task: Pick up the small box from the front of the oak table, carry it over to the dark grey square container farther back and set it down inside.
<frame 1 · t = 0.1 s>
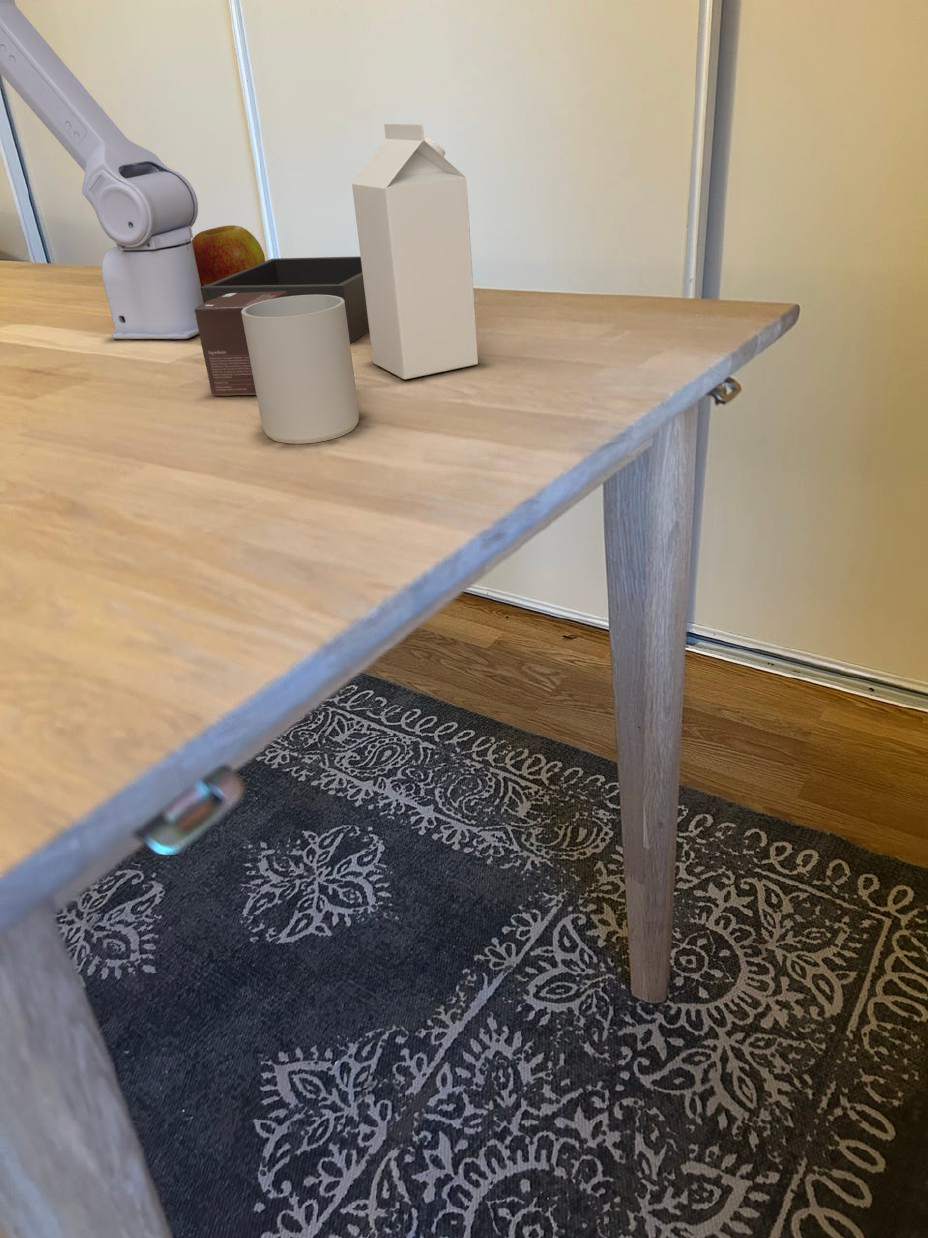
box: (257, 388, 82), on the table
dark grey square container: (312, 324, 101), on the table
cup: (307, 425, 72), on the table
milk carton: (425, 367, 84), on the table
fruit: (232, 297, 119), on the table
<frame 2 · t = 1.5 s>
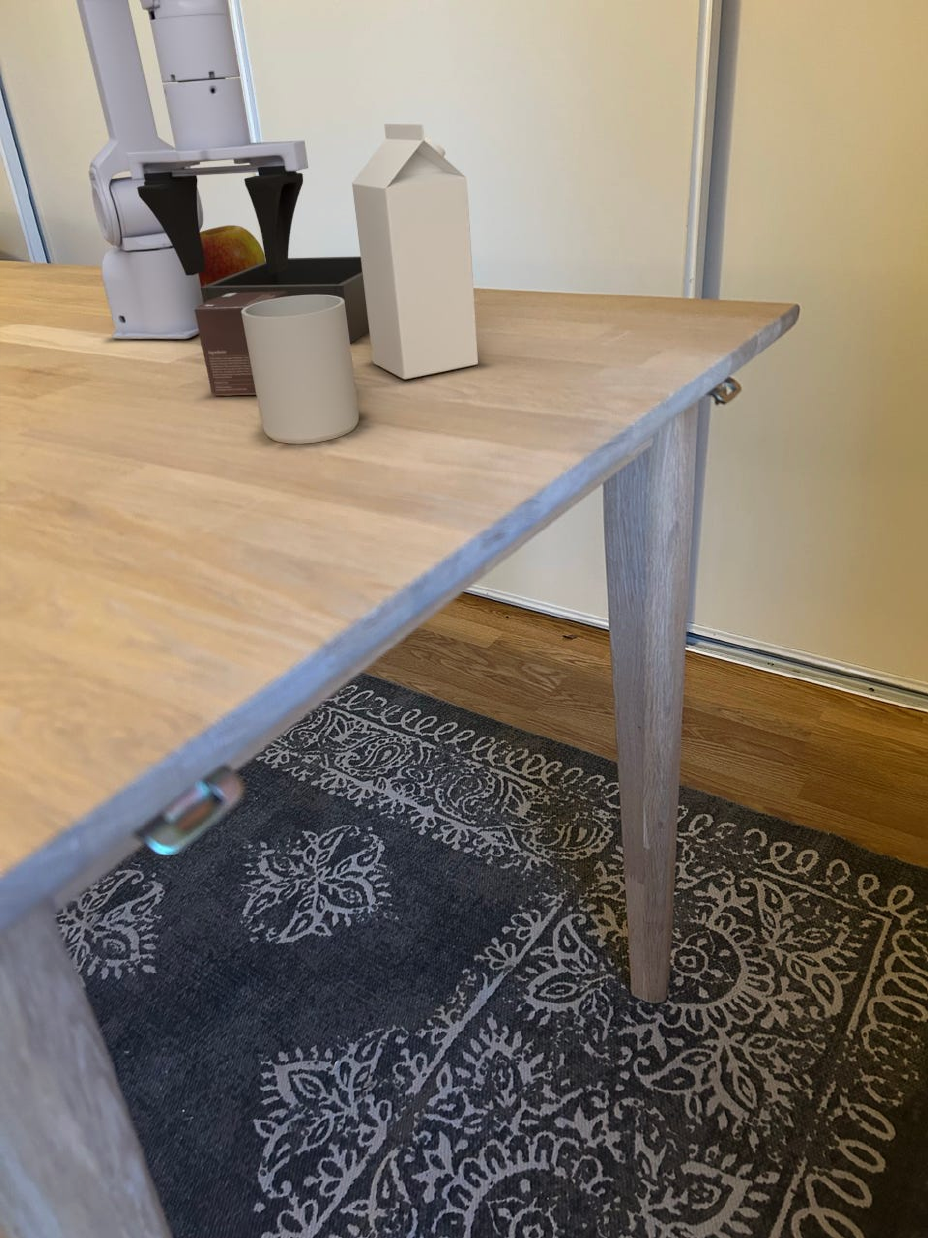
hand: (236, 272, 77), 9 cm above the table, tool pointing down, fingers open, 7 cm apart
nothing on the table moved.
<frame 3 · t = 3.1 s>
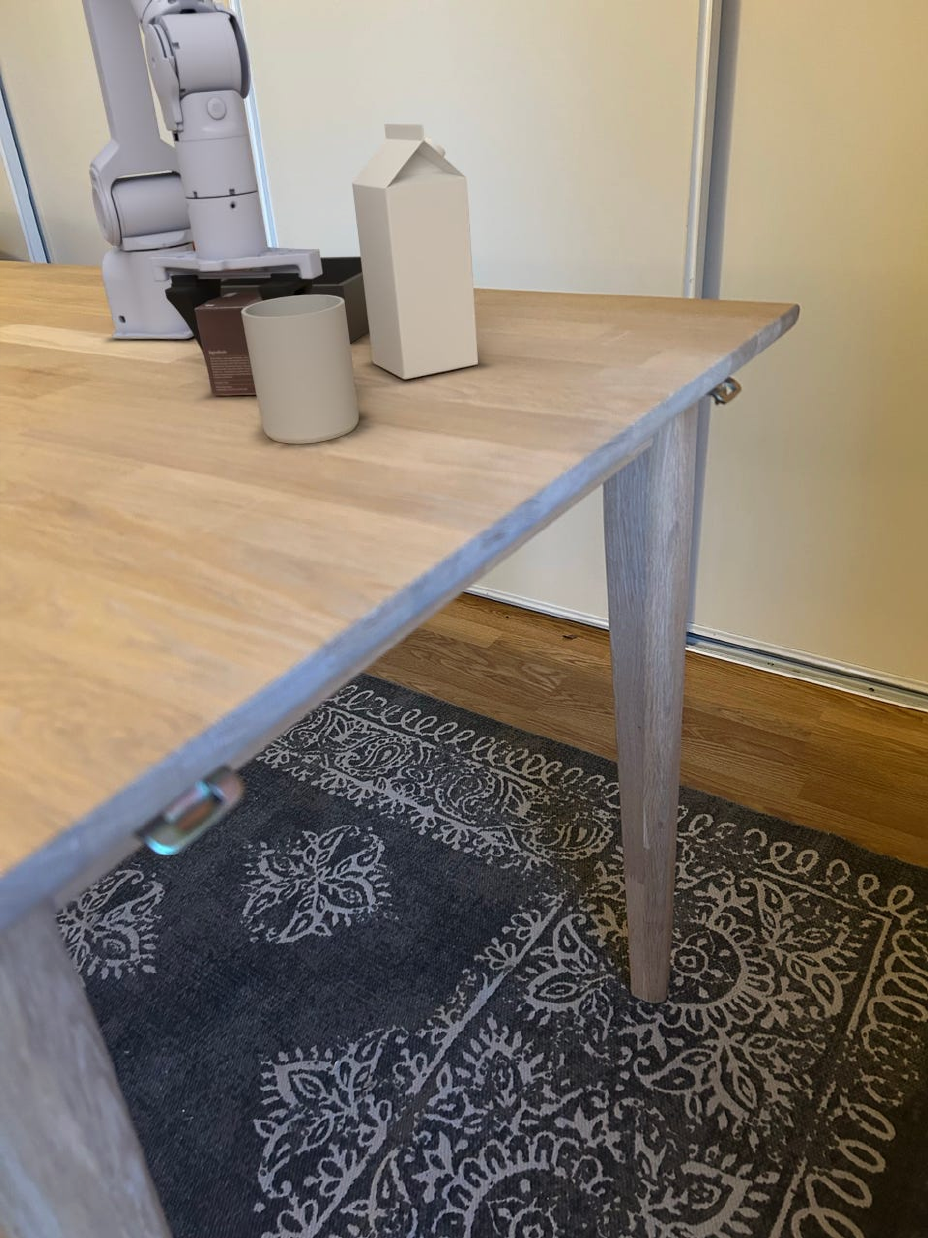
hand: (253, 366, 81), 2 cm above the table, tool pointing down, fingers closed on box, 6 cm apart
box: (257, 388, 82), on the table, touching gripper
everything else where it was.
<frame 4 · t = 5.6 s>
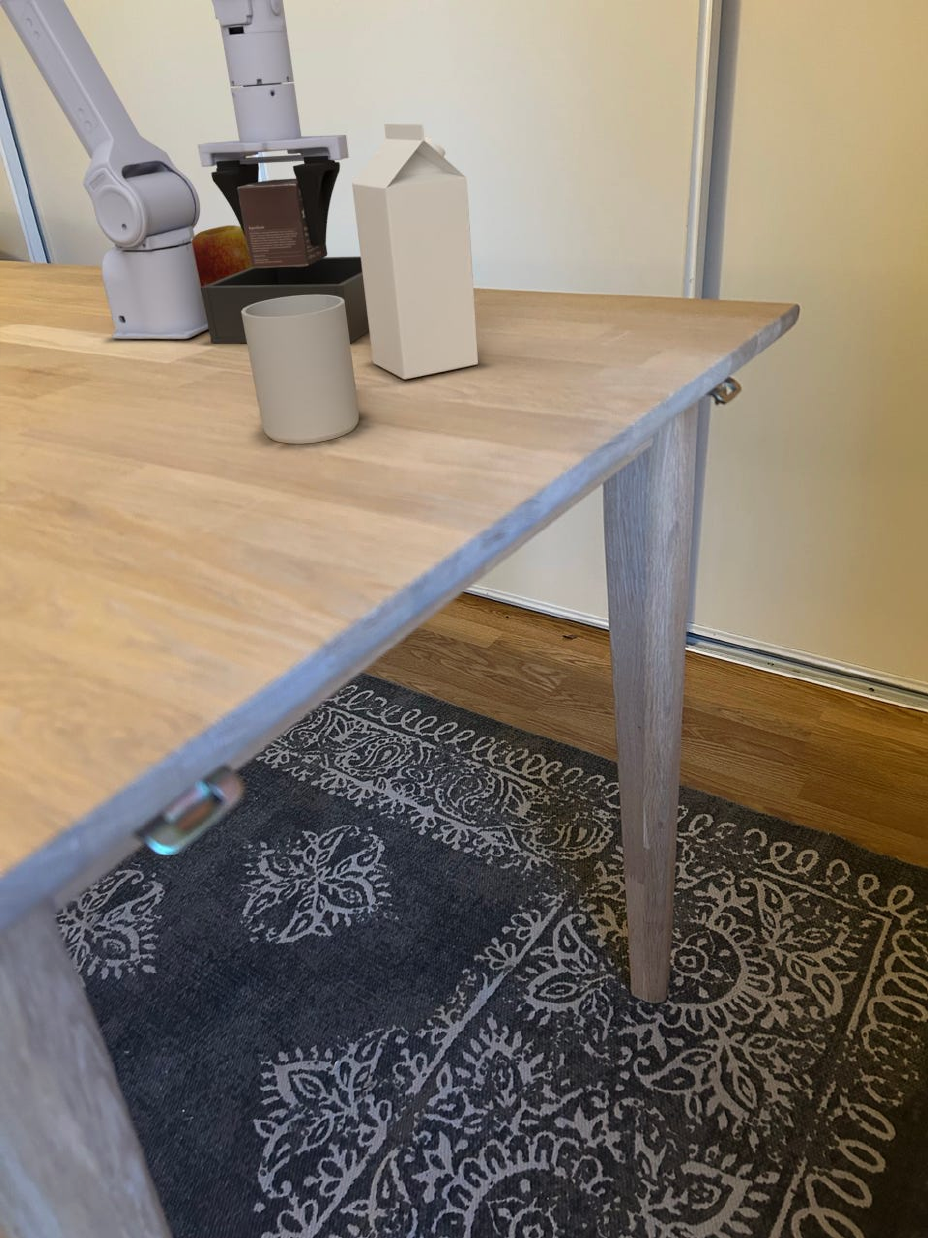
hand: (286, 244, 92), 9 cm above the table, tool pointing down, fingers closed on box, 6 cm apart
box: (290, 264, 93), point 7 cm above the table, touching gripper
everything else where it was.
when the fingers open (2 cm above the table, at t = 8.3 s): box stays where it is, resting on dark grey square container.
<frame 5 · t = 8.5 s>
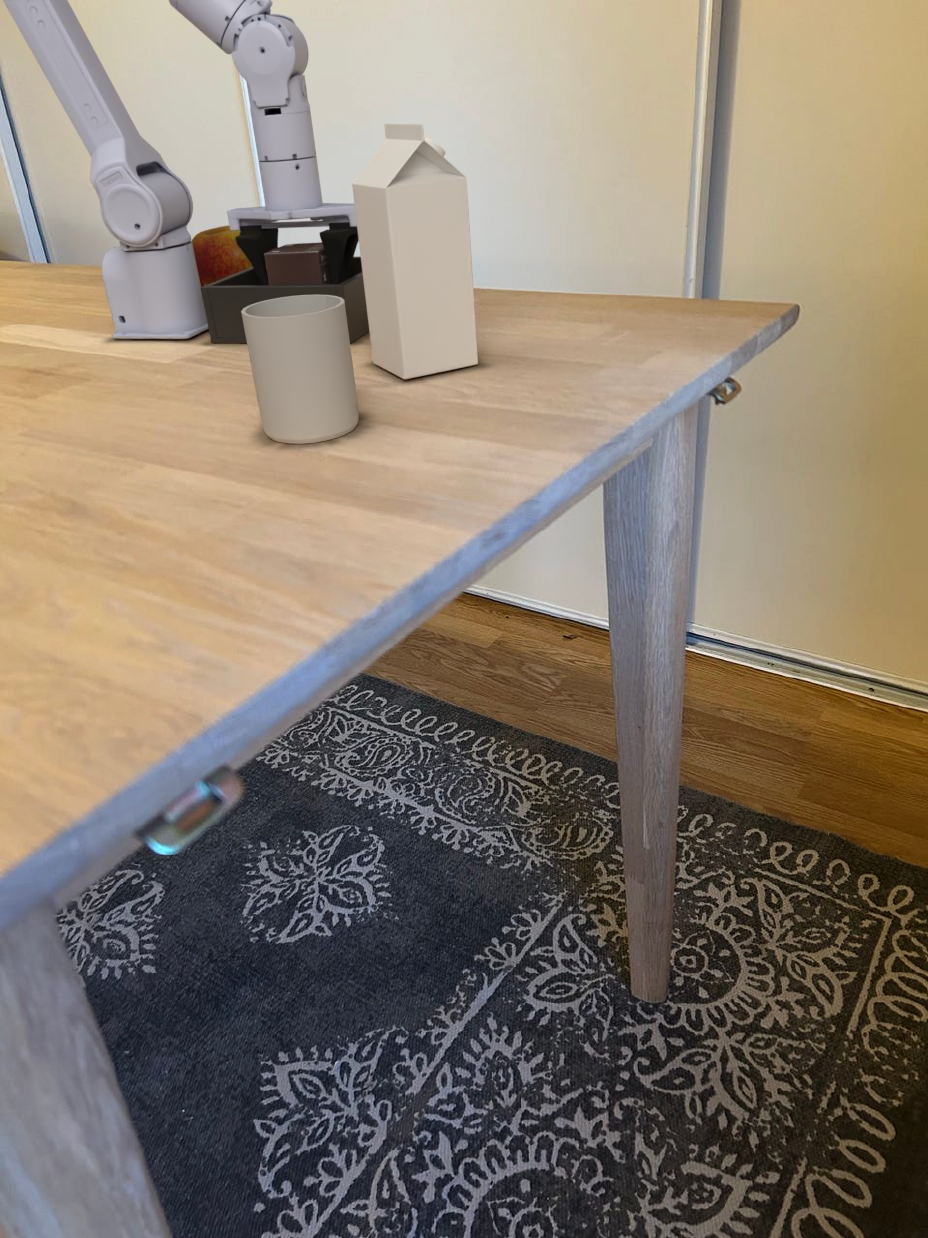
hand: (308, 300, 100), 2 cm above the table, tool pointing down, fingers open, 7 cm apart
box: (311, 321, 101), resting on dark grey square container
everything else where it was.
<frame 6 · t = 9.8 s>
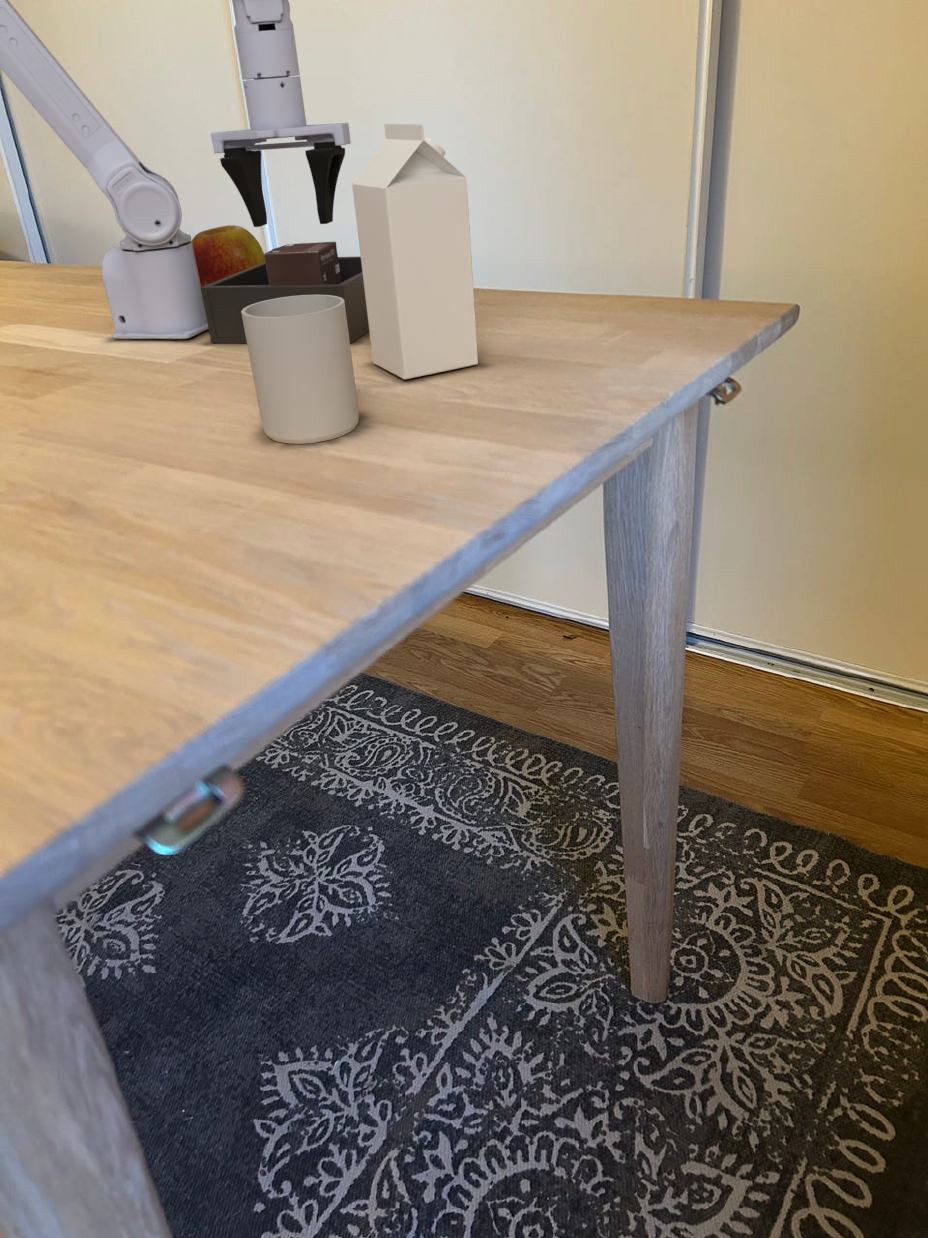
hand: (293, 224, 101), 9 cm above the table, tool pointing down, fingers open, 7 cm apart
nothing on the table moved.
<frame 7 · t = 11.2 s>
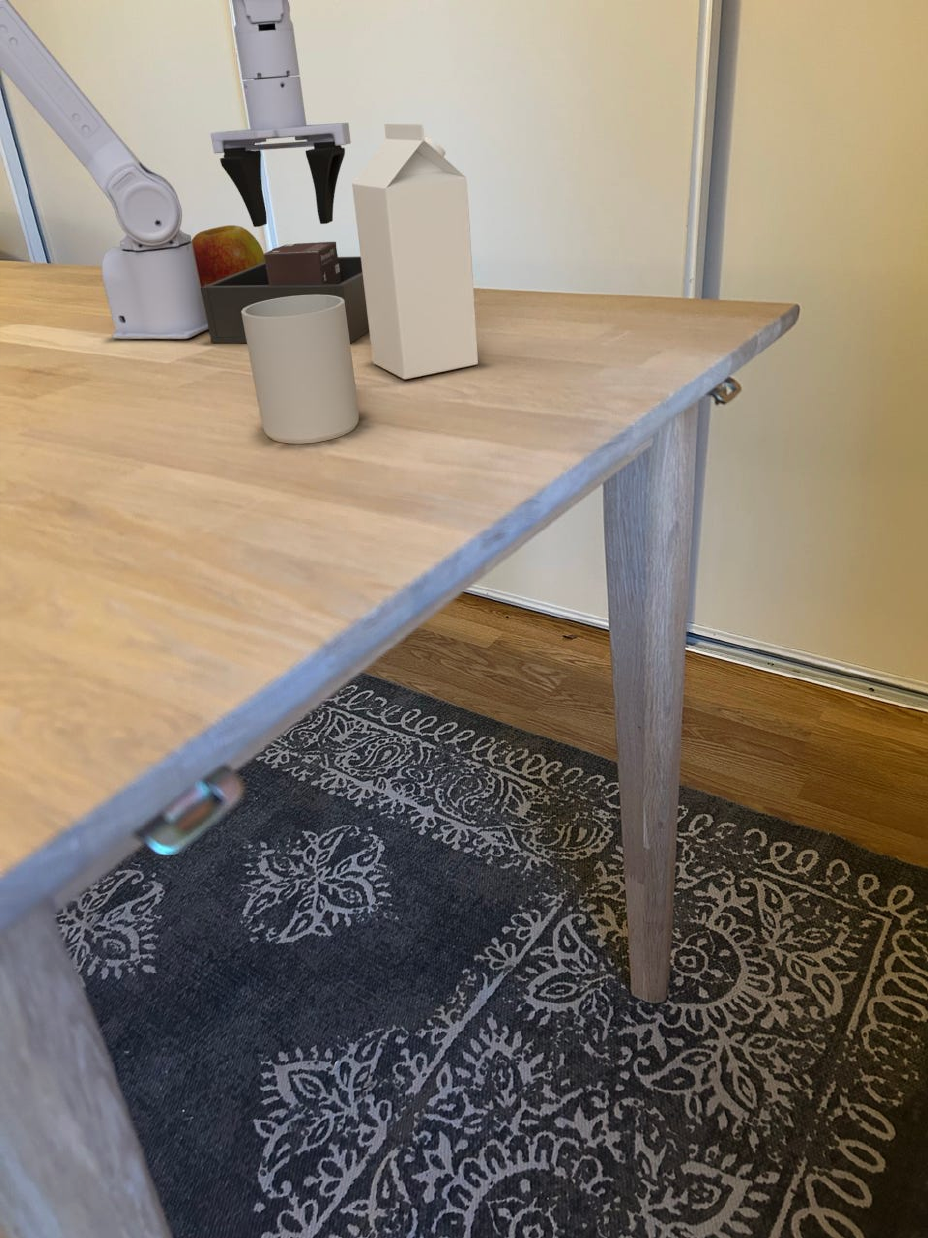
hand: (293, 223, 101), 9 cm above the table, tool pointing down, fingers open, 7 cm apart
nothing on the table moved.
at the end: box inside the target area in the dark grey square container (0.0 cm from its centre), point 0.3 cm above the dark grey square container's base; the gripper is holding nothing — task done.
